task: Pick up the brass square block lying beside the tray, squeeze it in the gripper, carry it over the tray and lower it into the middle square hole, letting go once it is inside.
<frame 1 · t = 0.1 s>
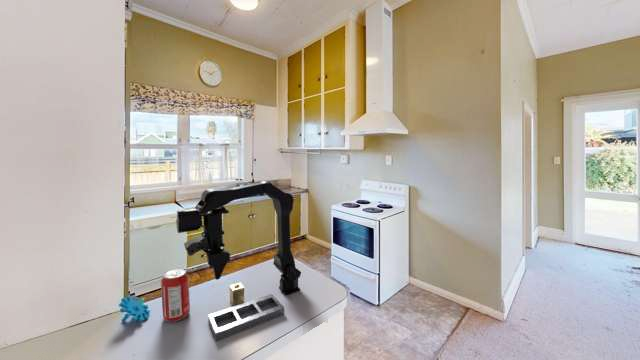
hand: (214, 273, 85), 14 cm above the counter, tool pointing down, fingers open, 9 cm apart
gear: (136, 319, 83), on the counter
soda can: (176, 316, 85), on the counter
brass block: (237, 302, 93), on the counter
tray: (247, 318, 84), on the counter
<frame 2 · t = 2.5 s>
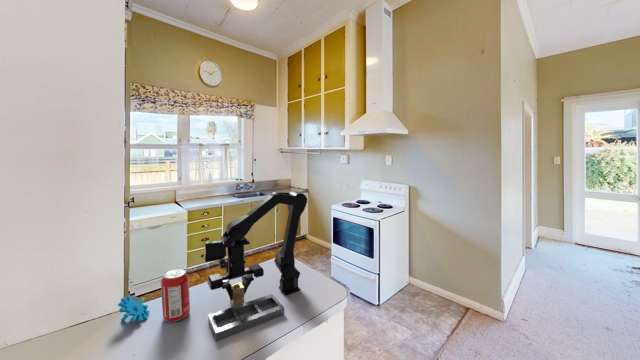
hand: (237, 297, 93), 2 cm above the counter, tool pointing down, fingers closed on brass block, 4 cm apart
brass block: (237, 301, 93), on the counter, touching gripper
everything else where it was.
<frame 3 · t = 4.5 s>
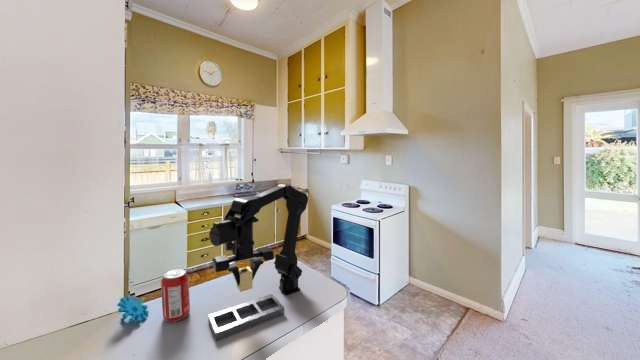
hand: (244, 282, 84), 12 cm above the counter, tool pointing down, fingers closed on brass block, 4 cm apart
brass block: (244, 287, 84), point 10 cm above the counter, touching gripper
everything else where it was.
when the fingers open (3 cm above the counter, at t = 6.8 s): brass block drops 2 cm, resting in tray.
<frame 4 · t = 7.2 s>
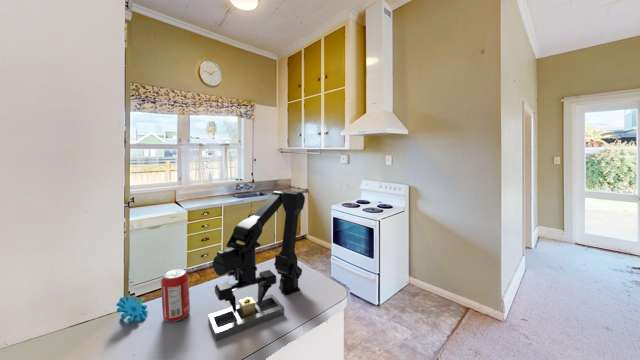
hand: (247, 308, 84), 3 cm above the counter, tool pointing down, fingers open, 8 cm apart
brass block: (247, 318, 84), resting in tray
everything else where it was.
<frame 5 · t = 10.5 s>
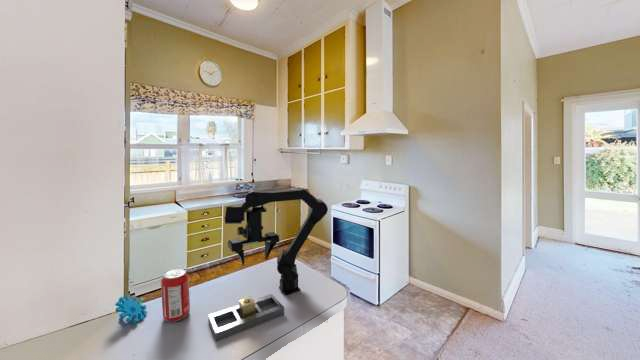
hand: (254, 262, 99), 12 cm above the counter, tool pointing down, fingers open, 9 cm apart
at the end: brass block 0.0 cm off-centre on the tray, point 0.0 cm above the tray's base; brass block tilted 0°; the gripper is holding nothing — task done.
